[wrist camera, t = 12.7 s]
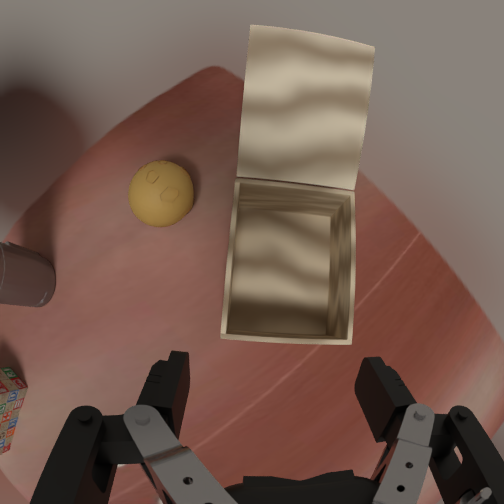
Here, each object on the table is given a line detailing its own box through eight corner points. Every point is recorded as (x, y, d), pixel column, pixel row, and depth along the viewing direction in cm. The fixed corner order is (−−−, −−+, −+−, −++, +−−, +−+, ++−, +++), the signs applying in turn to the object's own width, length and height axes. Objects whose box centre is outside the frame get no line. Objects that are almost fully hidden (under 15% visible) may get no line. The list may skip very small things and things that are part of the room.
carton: (328, 338, 44) (351, 344, 34) (224, 332, 43) (220, 338, 33) (332, 214, 48) (354, 192, 38) (235, 205, 47) (235, 178, 37)
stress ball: (181, 243, 46) (167, 225, 36) (129, 221, 46) (106, 200, 36) (207, 188, 48) (201, 159, 38) (156, 170, 48) (140, 139, 38)
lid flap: (374, 47, 28) (373, 47, 28) (250, 24, 28) (250, 25, 28) (354, 190, 38) (352, 188, 38) (236, 176, 37) (236, 175, 38)
